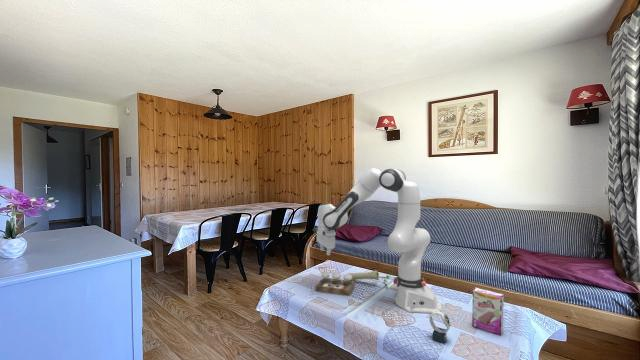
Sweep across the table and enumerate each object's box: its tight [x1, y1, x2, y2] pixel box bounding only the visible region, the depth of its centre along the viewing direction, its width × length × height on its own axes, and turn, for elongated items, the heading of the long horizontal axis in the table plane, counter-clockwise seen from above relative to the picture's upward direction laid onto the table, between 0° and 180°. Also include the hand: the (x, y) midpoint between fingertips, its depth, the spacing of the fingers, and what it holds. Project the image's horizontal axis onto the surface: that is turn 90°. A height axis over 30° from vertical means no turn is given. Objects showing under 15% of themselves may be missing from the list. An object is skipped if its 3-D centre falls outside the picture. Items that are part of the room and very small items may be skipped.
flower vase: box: [347, 269, 398, 290], centre depth 170 cm, size 12×12×35 cm
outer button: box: [320, 270, 330, 279], centre depth 171 cm, size 5×5×2 cm
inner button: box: [343, 273, 352, 280], centre depth 166 cm, size 5×5×2 cm
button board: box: [315, 277, 356, 297], centre depth 167 cm, size 20×14×4 cm
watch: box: [428, 311, 452, 344], centre depth 116 cm, size 6×8×11 cm
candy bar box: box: [471, 287, 505, 336], centre depth 123 cm, size 11×5×16 cm, turn 48°
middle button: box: [331, 272, 342, 280], centre depth 169 cm, size 5×5×2 cm
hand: (325, 252), depth 171 cm, fingers open, 8 cm apart
